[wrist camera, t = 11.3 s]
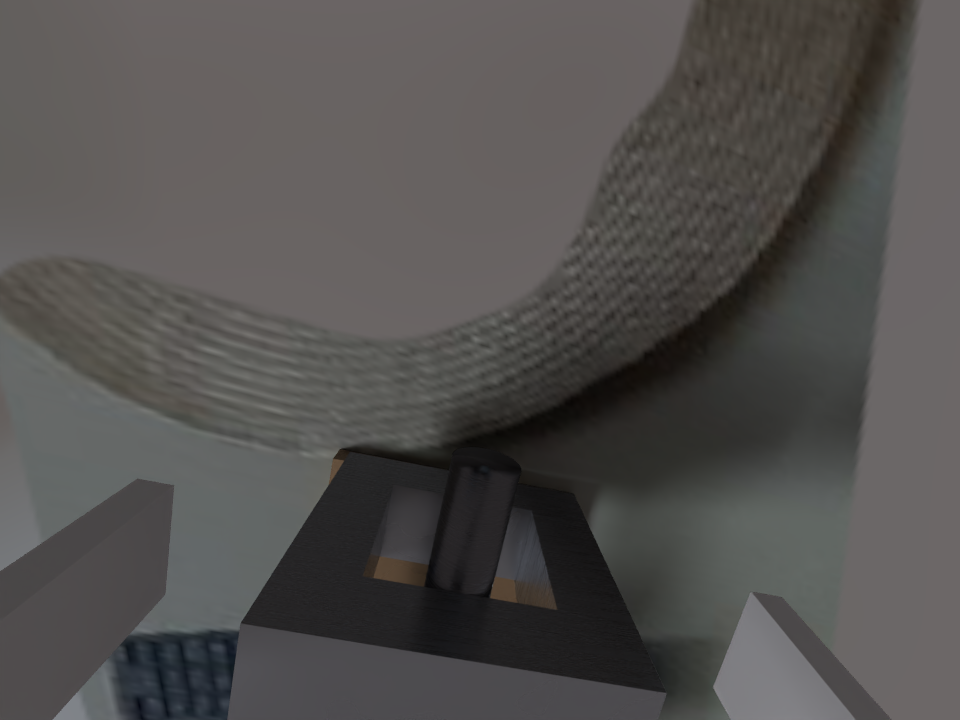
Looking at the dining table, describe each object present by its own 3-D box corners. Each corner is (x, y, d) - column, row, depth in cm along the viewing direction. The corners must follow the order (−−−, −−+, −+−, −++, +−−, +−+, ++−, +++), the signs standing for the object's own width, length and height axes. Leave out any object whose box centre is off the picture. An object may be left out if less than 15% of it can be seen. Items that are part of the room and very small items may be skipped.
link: (349, 451, 16) (240, 623, 8) (573, 494, 17) (666, 693, 9) (338, 516, 17) (225, 737, 9) (556, 556, 17) (631, 797, 9)
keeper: (356, 351, 19) (217, 453, 8) (598, 401, 19) (744, 553, 9) (305, 653, 21) (153, 1012, 11) (520, 689, 22) (564, 1060, 12)
